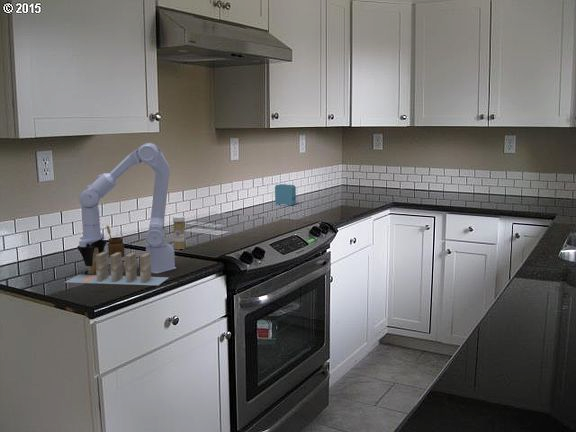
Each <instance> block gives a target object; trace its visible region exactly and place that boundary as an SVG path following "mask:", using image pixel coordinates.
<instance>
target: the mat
mask: <svg viewBox="0 0 576 432" xmlns="http://www.w3.org/2000/svg"><path fill="white" fill-rule="evenodd" d="M169 278H170V277H167V276H166V277H165V276H164V277H163V276H151V279H150V280H149V281H148V282H146V283H141V276H140V275H139V276H138V275H137V279H135V280H134V281H132V282H126V275H123V278H122V279H120V280H118V281H117V282H112V281H111V275H108V278H107V279H105V280H103V281H97V274H78V275H75V276H74V277H71V278H69V279H67V280H66V281H64V283H71V284H72V283H73V284H102V285H106V284H107V285H127V286H128V285H130V286H131V285H135V286H137V285H138V286H160V285H161V284H163V283H164V282H165V281H167V280H168V279H169Z"/></svg>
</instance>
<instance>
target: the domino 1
mask: <svg viewBox="0 0 576 432" xmlns="http://www.w3.org/2000/svg"><path fill="white" fill-rule="evenodd" d="M97 254H99V252H98V247H95V249H94V253H93V263H92V266H87V268H88V269H87V270H88V275H95V274H97V272H96V255H97Z"/></svg>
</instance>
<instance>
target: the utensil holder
mask: <svg viewBox="0 0 576 432" xmlns="http://www.w3.org/2000/svg"><path fill="white" fill-rule="evenodd" d="M106 230H107V233H108V235H109V238H108V245H107V250H108V252H107V254H108V257H109V258H110V255H113V254H115V253H117V252H120V253H121V256H123V257H125V244H124V238H123V236H122V233H123V230H122V228H117V229H116V233H115V234H116V236H113V237H112V236H111V234H112V233H111V229H110V226H109V225H106ZM119 230H120V231H121V232H120V234H119V236H118V233H119ZM117 231H118V232H117Z"/></svg>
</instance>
